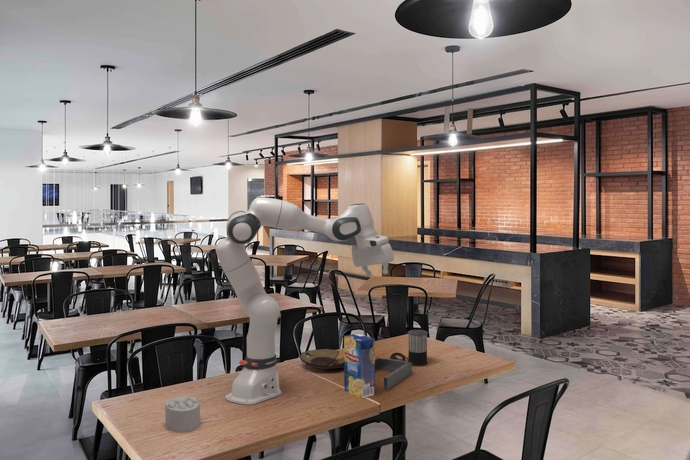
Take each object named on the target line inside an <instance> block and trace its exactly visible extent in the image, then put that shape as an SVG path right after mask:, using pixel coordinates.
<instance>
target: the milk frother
mask: <svg viewBox="0 0 690 460" xmlns="http://www.w3.org/2000/svg"><path fill="white" fill-rule="evenodd" d="M428 333H429V332H428V331H426V330H423V329H410V330H409V331H407V334H408V336H407V337H408V340H407V341H408V344H407V345H408V352H407V353H408V357H406V356H405V354H403V353H400V352H393V353H392V354H391V355H390V356H389V359H394V360H399V358H398V357H397V356H399V357H401V358H402V359H401V361H406V360H407V362H412V366H415V367H423V366H426V365H428Z"/></svg>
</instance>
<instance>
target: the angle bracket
mask: <svg viewBox="0 0 690 460" xmlns="http://www.w3.org/2000/svg"><path fill="white" fill-rule="evenodd" d="M401 360H402V359H401ZM401 360H400V359H398V360H394V359H390V358H387V357H386V358H385V357H378V356H375V372H377V371H378V370H381V371H387V372H391V373H388V374H387V375H385V376H384V377H383V390H384V391H389V390H390V389H392V388H393V387H395V386H396V385H398V384H399V383H400V382H401V381H403V380H405V379H406V378H407V377H409V376H410V375H412V374H413V365H412V362H408V360H405V361H401Z"/></svg>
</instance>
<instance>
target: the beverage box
mask: <svg viewBox="0 0 690 460" xmlns="http://www.w3.org/2000/svg"><path fill="white" fill-rule="evenodd" d="M375 340H376V338H374V337H372V336H371V337H370V336H367V335H364V334H362V333H353V334H352V333H351V334H347V335H344V336H343V357H344V368H343V370H344V374H343V375H344V376H343V377H344V378H343V379H344V382H343V383H344V389H343V390H344V392H346V393H348V394H351V395H353V396H355V397H357V398H359V399H365V398H369V397H371V396H375V395H376V383H375V382H376V371H375V358H376V344H375V343H376V341H375Z"/></svg>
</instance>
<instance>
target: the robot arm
mask: <svg viewBox="0 0 690 460" xmlns="http://www.w3.org/2000/svg"><path fill="white" fill-rule="evenodd" d="M347 206H348V207H347V208H346V209H345V211H344V212H343V213H342V214H340V215H339V216H338V217H336V216H335V217H331V218H325V217H324V218H323V217H319V216H315V215H311V214H309V213H306V212H304V211H303V210H302V209H301V208H300V207H299V206H298V205H296V204H294V203H292V202H290V201H286V200H283V199H278V198H274V197H273V198H272V197H263V196H260V197H259V196H258V197H256V198H255V199H253V200H252V201H251V203H250V206H249V209H248V210H247V211H243V210H239V211H235V212H233V213H232V214H230V216H229V217H228V218H227V222H226V237H225V238H224V239H222V240H220V241H219V242H218V243H217V245H216V246H215V253H216V256H217V259H218V262H219V264H220V266H221V268H222V271H223V272H224V274H225V276H226V277H227V280H228V282H229V283H230V285H231V287H232V288H233V290H234V294H235V295H236V297H237V299H238V302H239V304H240V306H241V308H242V310H243V312H244V314H245V315H247V316H248V318H249V326H248V332H247V334H246V355H245V359H244V360H243V359H240V360H239V365H240V366H243V368H242V369H241V371H240V372H239V373H238V375H237V376H236V377H235V379H233V381H232V383H231V385H232V386H231V392H229V393H228V394H226V395H225V400H226V401H228V402H231V403H234V404H240V405H249V406H250V405H252V406H253V405H256V404H258V403H261V402H264V401H267V400H270V399H272V398H275V397H278V396H282V390H281V389H280V382H279V373H278V371H277V368H276V366H277V355H276V330H277V325H278V319H279V317H280V316H281V307H280V305H279V303H278V301H277V300H276V299H275V298H274V297H272V296H271V295H269V294H267V292H266V290H265V288H264V286H263V284H262V281H261V278H260V274H259V272H258V270H257V268H256V267H255V265H254V263H253V261H252V259H251V258H250V256H249V254H248V252H247V250H246V245H247V244H248V243H250V242H252V241H253V239H254V238H255V237H256V236H257V234H258V232H259V231H260V229H261V227H263V226H264V227H270V228H274V229H279V230H285V231H286V230H287V231H293V230H294V231H296V230H304V231H305V230H306V231H309V232H314V233H316V234H317V233H318V234H321V235H323V236H324V237H326V238H327V239H329V240H330V241H332V242H345V241H349V240H350V239H352V238H355V242H356V244H353V245H352V247H351V257H352V262H353V265H354V266H355V268H360V267H361V269H362V270H363V272H364V273H365V276H366V277H371V276H372V275H373V274H372V271H371V270H369V266H374V265H380V264H381V267H383V269H382V270H381V273H382V275H388V274H389V270H388V269H389V263H390V262H393V261H394V259H395V255H394V252H393V248H392V246H391V244H390V243H389V241H390V240H389V237H388V236H387V235H386V236H385V235H381V234H378V232H377V230H376V228H375V225H374V223H375V222H374V219H373V216H372V212H371V210H370V207H369V205H367V204H365V203H353V204H350V205H347Z"/></svg>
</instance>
